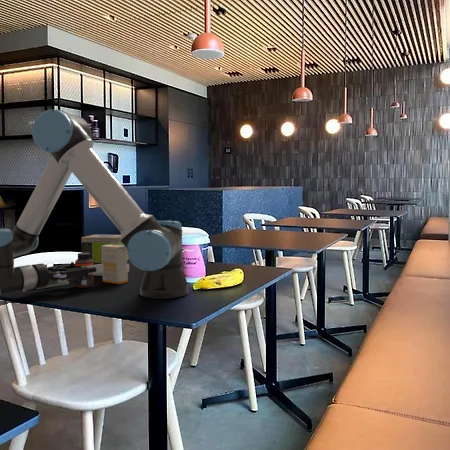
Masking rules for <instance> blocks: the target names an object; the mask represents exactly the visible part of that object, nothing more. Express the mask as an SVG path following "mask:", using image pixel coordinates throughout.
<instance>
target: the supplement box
mask: <svg viewBox="0 0 450 450" xmlns="http://www.w3.org/2000/svg"><path fill="white" fill-rule="evenodd" d="M101 251H102V264H103V269H104V272H102V275H103V276H102V283H110V284H116V285H122V284H125V283H128V282H129V276H128V275H129V274H128V273H129V272H128V271H127V248H126V247H125V246H124V245H113V244H109V245H103V246H101Z"/></svg>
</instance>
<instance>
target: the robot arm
mask: <svg viewBox="0 0 450 450" xmlns="http://www.w3.org/2000/svg"><path fill="white" fill-rule="evenodd" d="M32 124H33V125H32V130H31V133H32V135H31V136H32V139H33V141H34V143H35V145H36V146H38V148H40V149H41V150H42V151H44V152H46V153H49V154H50V155H51V157H50V159H49V161H48V163H47V165H46V166H45V169H44V170H43V173H42V174H41V176H40V178H39V180H38V182H37V184H36V185H35V188H34V190H33V191H32V193H31V195H30V197H29V199H28V201H27V203H26V205H25V207H24V209H23V211H22V213H21V215H20V216H19V218H18V220H17V222H16V225H15V226H14V228H13V230H11V229H10V228H0V296H2V295H7V294H12V293H17V292H18V293H19V292H23V293H26V291H29V290H34V289H36V288H41V289H43V288H42V287H46V286H47V285H48V283H49V281H50V280H51V279H52V281H56V280H59V279H60V280H62V281H63V280H66V279H67V280H70V279H71V280H72V279H75V278H78V277H88V276H89V274H94V273H100V272H104V269H103V264H97V265H91V266H85V267H83V268H75V262H74V261H70V263H65V264H61V265H60V264H59V265H58V264H57V265H53V266H47V265H46V264H44V263H36V264H32V265H31V264H28V265H27V264H26V265H21V266H15V263H14V262H15V260H14V258H16V257H18V256H23V255H27V254H29V253H32V251H35V250H36V249H37V248H38V246H39V243H40V241H39V240H40V239H39V235H40V233H41V231H42V230H43V228H44V226H45V224H46V222H47V221H48V219H49V216H50V215H51V213H52V210H54V207H55V205H56V203H57V201H58V200H59V198H60V195H61V194H62V192H63V190H64V188H65V187H66V184H67V183H68V181H69V180H70V177H71V175H72V173H73V175H74V176H75V177H76V179H77V180H78V182H80V184H81V185H82V186H83V188H85V190H86V191H87V193H89V195H90V196H91V197H92V198H93V200H94V201H95V202H96V204H97V205H98V206H99V208H101V210H102V211H103V212H104V213H105V215H106V216H107V217H108V218H109V220H110V221H111V222H112V223H113V225H114V226H115V227H116V228H117V230H118V231H119V232H120V235H121V238H120V240H121V242H122V243H123V244H124V246H125V247H126V248H127V253H128V257H129V262H130V263H132V265H133V266H135V267H136V268H137V269H139V270H140V271H144V274H143V277H142V280H141V284H140V288H139V291H140V293H139V294H140V296H142V297H144V298H147V299H158V300H163V299H164V300H167V299H174V298H175V299H177V298H180V297H181V298H182V297H184V296H187V295H188V294H189V284H188V281H187V277H186V275H185V271H184V267H183V229H182V227H183V225H182V223H181V222H180V221H176V220H157V219H156V218H155V216H154V215H153V214H147V213H145V212H144V211H143V210H142V209H141V208H140V206H139V205H138V204H137V202H136V201H135V200H134V199H133V197H132V196H131V195H130V193H128V191H127V190H126V189H125V187H124V186H123V185H122V183H120V181H119V180H118V178H116V176H115V175H114V173H112V172H111V170H110V169H109V167H107V165H106V164H105V163H104V161H103V160H102V159H101V158H100V156H99V155H98V154H97V152H96V151H95V150H94V149H93V146H94V140H93V139H92V137H93V136H92V130H91V127H90V126H89V125H90V124H88V122H87V121H86V120H85V119H84V118H83V117H81V116H79V115H76V114H72V113H69V112H66V111H64V110H61V109H47V110H45V111H43V112H41V113H40V114H39V115H37V116H36V118H35V120H34V121H33V123H32Z"/></svg>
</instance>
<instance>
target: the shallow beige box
mask: <svg viewBox="0 0 450 450" xmlns="http://www.w3.org/2000/svg"><path fill="white" fill-rule="evenodd" d="M65 285H70V282H69V281H68V279H66V280H63V281H62V280H60V279H59V280H56V281H52V279H51V280H50V281H49V283H48V285H47V286H46V287H42V288H35V289H36V290H41V289H46V288H53V287H59V286H65Z"/></svg>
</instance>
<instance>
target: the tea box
mask: <svg viewBox="0 0 450 450" xmlns="http://www.w3.org/2000/svg"><path fill="white" fill-rule="evenodd" d="M120 238H121V234H91V235H87V236H82V237H81V253H90V258H91V259H92V260H93V265H97V264H102V251H101V246H103V245H109V244H113V245H124V244H123V243H122V242H121V240H120ZM127 271H128V273H129V272H130V259H129V257H128V253H127ZM93 276H102V277H103V275H102V272H100V273H94V274H93Z"/></svg>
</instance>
